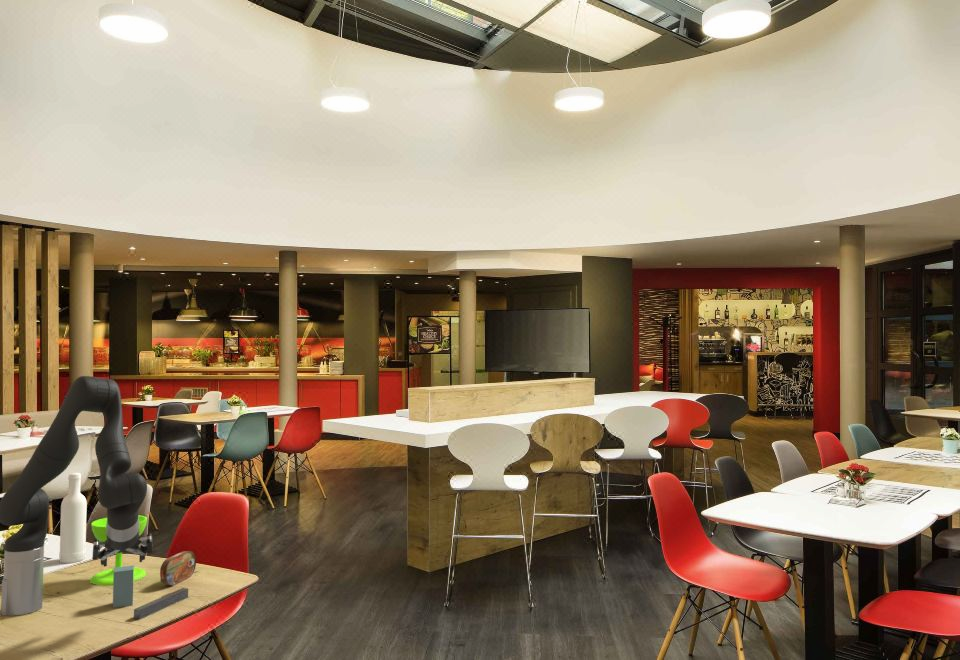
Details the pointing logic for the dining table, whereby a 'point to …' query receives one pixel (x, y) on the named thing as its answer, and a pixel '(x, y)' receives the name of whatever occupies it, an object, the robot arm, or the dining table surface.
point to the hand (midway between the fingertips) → (123, 561)
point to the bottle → (73, 523)
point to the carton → (123, 586)
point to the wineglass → (108, 575)
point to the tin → (177, 568)
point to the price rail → (160, 603)
